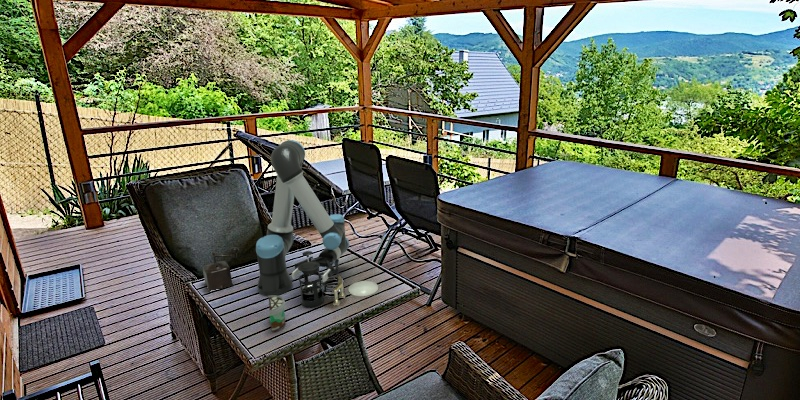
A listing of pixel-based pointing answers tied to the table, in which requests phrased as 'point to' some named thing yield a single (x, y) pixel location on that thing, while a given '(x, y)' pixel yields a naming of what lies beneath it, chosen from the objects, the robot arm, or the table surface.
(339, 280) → the ceiling spotlight
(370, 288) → the coaster
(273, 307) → the food container
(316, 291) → the french press
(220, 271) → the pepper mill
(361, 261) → the table surface
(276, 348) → the table surface
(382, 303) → the table surface
